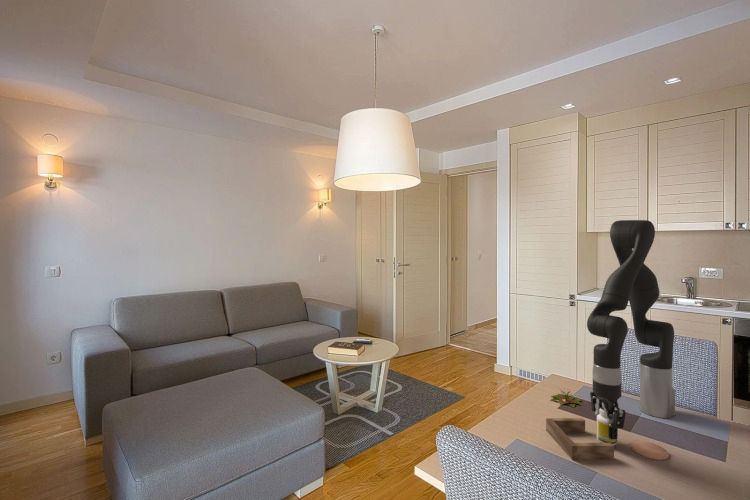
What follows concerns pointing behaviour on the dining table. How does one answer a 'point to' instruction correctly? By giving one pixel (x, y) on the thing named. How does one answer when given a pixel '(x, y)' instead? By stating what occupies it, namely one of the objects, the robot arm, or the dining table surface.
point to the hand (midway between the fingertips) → (606, 433)
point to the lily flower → (566, 397)
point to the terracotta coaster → (649, 450)
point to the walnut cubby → (577, 450)
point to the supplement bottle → (604, 428)
